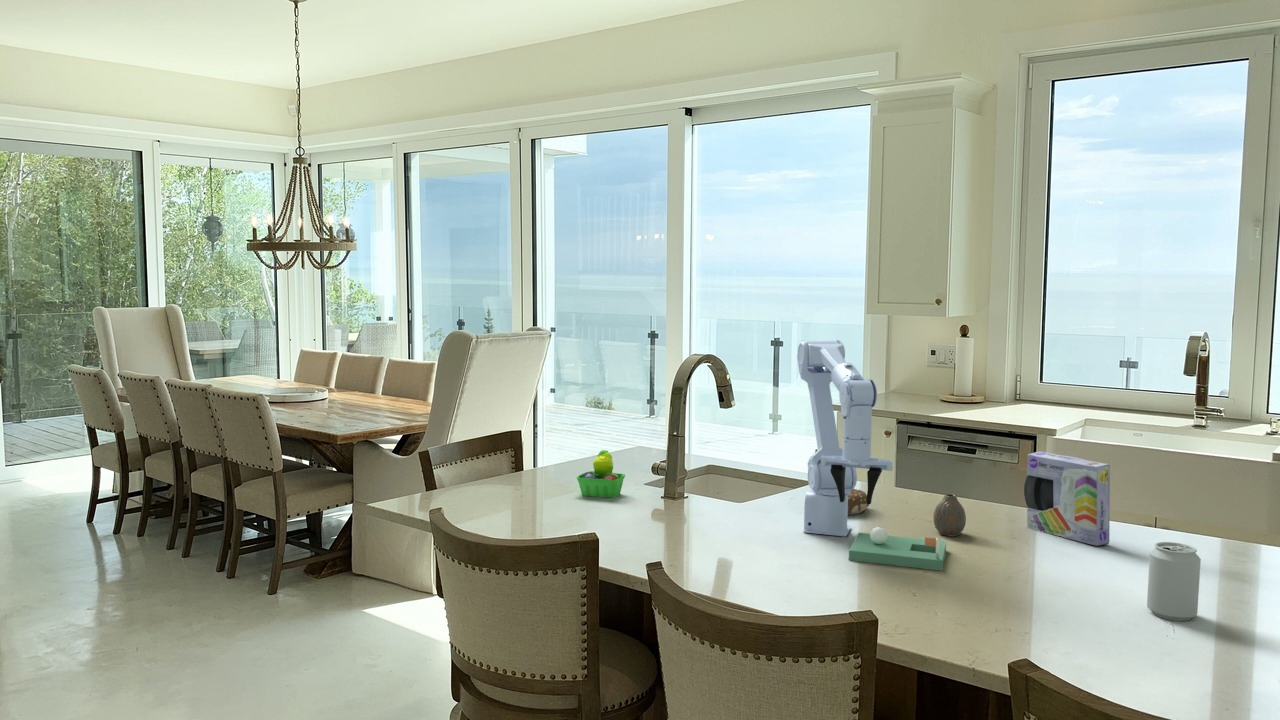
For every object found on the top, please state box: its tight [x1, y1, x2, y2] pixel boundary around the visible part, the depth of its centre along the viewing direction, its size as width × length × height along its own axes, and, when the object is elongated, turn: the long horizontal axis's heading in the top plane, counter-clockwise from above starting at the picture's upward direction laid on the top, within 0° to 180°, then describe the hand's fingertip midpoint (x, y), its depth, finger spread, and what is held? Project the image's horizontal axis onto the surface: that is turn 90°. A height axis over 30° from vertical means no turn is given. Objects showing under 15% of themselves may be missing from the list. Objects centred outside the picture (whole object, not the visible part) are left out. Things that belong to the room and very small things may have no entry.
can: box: [1146, 541, 1202, 622], centre depth 158 cm, size 8×8×12 cm
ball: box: [869, 526, 888, 544], centre depth 192 cm, size 4×4×4 cm
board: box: [848, 532, 947, 571], centre depth 191 cm, size 18×14×2 cm
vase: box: [932, 493, 967, 537], centre depth 207 cm, size 7×7×9 cm
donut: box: [848, 488, 870, 515], centre depth 228 cm, size 14×14×5 cm
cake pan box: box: [1023, 451, 1111, 547], centre depth 205 cm, size 19×5×18 cm, turn 27°
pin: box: [924, 536, 941, 559], centre depth 183 cm, size 3×1×6 cm, turn 69°
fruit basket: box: [576, 449, 626, 499], centre depth 243 cm, size 11×9×11 cm
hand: (855, 502), depth 193 cm, fingers open, 5 cm apart
